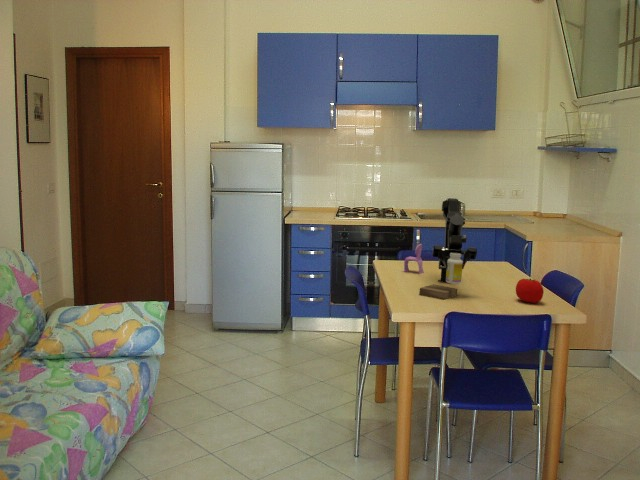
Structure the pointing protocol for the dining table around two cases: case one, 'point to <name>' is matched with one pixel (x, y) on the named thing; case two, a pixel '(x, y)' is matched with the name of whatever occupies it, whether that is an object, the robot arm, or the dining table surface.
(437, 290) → the base
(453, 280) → the supplement bottle
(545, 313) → the dining table surface
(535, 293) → the tomato
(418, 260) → the toy chair
